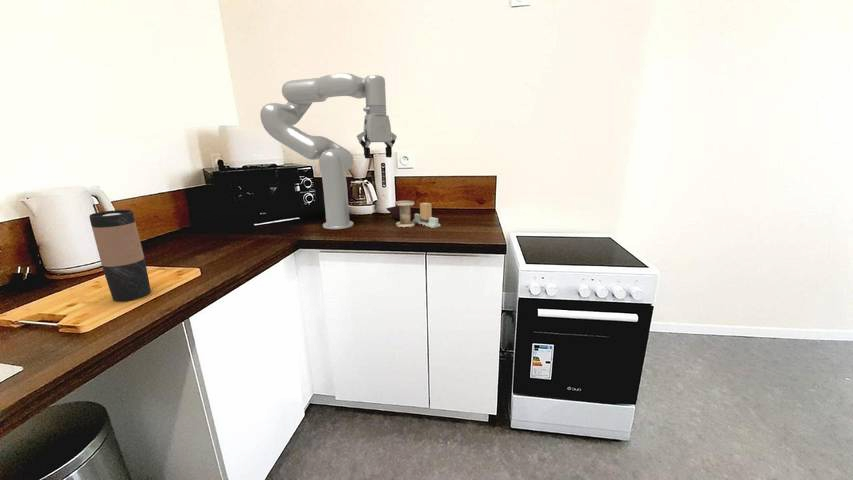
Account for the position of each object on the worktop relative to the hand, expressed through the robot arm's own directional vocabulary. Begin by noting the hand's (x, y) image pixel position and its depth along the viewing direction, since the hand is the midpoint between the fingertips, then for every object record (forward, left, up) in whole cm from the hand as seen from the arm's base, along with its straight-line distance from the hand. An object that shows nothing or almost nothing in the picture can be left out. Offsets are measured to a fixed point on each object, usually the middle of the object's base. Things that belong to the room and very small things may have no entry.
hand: (378, 157), depth 139 cm
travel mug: (+17, -81, -28) cm, 88 cm away
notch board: (+7, +18, -28) cm, 34 cm away
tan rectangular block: (+7, +18, -27) cm, 33 cm away
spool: (+3, +10, -28) cm, 30 cm away
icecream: (-10, +16, -29) cm, 34 cm away
